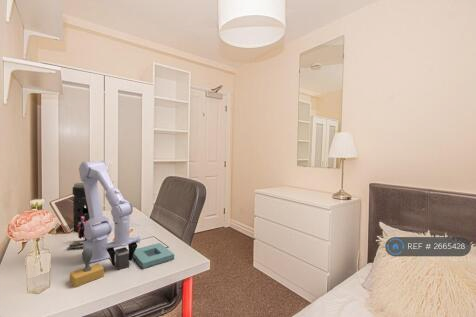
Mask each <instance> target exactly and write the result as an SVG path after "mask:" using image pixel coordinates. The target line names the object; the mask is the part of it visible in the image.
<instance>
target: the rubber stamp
mask: <svg viewBox="0 0 476 317" xmlns="http://www.w3.org/2000/svg"><path fill="white" fill-rule="evenodd" d="M91 257H92V250H91V249H89V248H87V249H85V250H84V251H83V250H82V252H81V258H82V260H83V262H84V264H85V265H84V267H82V268H80V269H77V270H73V271H71V272H69V283H70V285H72V287H73V288H77V287H79V286H82V285H85V284H88V283H91V282H93V281H96V280H98V279H101V278H103V277H104V276H105V274H104V272H105V270H104V267H103V266H102V265H101V264H100V263H98V262H97V263H94V264H91V263H90V260H91ZM90 264H91V265H90Z"/></svg>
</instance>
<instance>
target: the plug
mask: <svg viewBox="0 0 476 317" xmlns="http://www.w3.org/2000/svg"><path fill="white" fill-rule="evenodd" d="M114 250H115V266H114V267H116V269H117V270H118V271H121V270H124V269H128V268H130V261H129V248H127V247H126V246H123V247H121V248H120V247H119V248H115V249H114Z"/></svg>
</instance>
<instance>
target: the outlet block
mask: <svg viewBox="0 0 476 317" xmlns="http://www.w3.org/2000/svg"><path fill="white" fill-rule="evenodd" d="M132 259H133V260H134V261H135V262H136V263H137V264H138V265H139V266H140V267H141V269H142V270H145V269H148V268H151V267H155V266H158V265H161V264H165V263H167V262H170V261H173V260H175V254H174V252H172V251H171V250H170V249H168V248H167V247H166V246H164V244H162V243H160V242H157V243H154V244H151V245H147V246H146V245H145V246H143V247H137V248H136V250H135V252H134V254H133V258H132Z"/></svg>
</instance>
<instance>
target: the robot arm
mask: <svg viewBox="0 0 476 317" xmlns="http://www.w3.org/2000/svg"><path fill="white" fill-rule="evenodd" d="M78 172H79V179H80V181H81V182H82V183H84V189H85V194H86V200H87V205H88V211H89V216H90V219H89V220H88V221H87V222H86V223H85V224H84V236H85V237H84V238H86V239H87V241H84V242H83V246H82V247H83V249H82V252H83V251H84V250H85V249H87V248H89V249H91V250H92V257H91V260H90V263H89V264H92V263H96V262H99V261H102V260H107V259H110V261H111V265H112V267H116V266H115V250H116V249H117V248H120V247H121V248H124V247H126V246H128V251H129V262H132V261H133V259H134V258H133V254H134V252H135V250H136V249H138V244H140V243H141V238H140V236H136V237H130V215H132V213H133V206H132V203H131V202H130V201H128V200H127V199H125V198H124V196H123V195H122V192H121V191H120V189H119V188H116V187H115V186H114V184H113V182H112V179H111V177H110V175H109V166H108V163H107V162H106V161H105V160H96V161H82V162H81V163H80V164H79V168H78ZM98 182H99V183H100V185H101V186H102V188H103V189H104V190H105V195H104V196H105V198H106V200H107V202H108V204H109V206H110V207H111V209H110V214H111V216H112V221H113V222H114V226H113V227H114V233H113V234H114V241H111V242H108V237H109V236H110V234H111V232H112V230H113V227H112V224H111V222H110V219H109V217H106V216H105V215H103V210H102V209H103V208H102V203H101V198H100V193H99V187H98Z"/></svg>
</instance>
